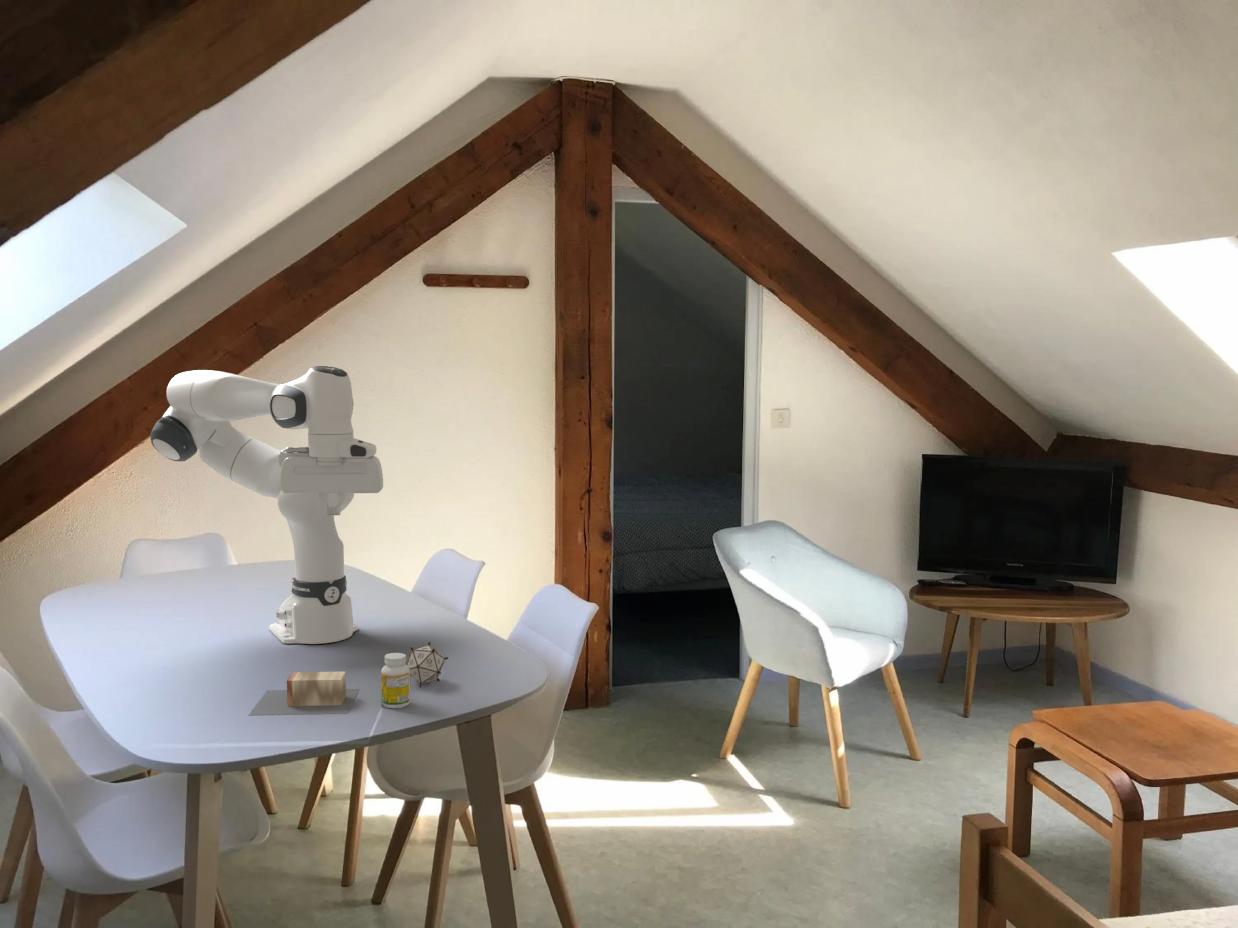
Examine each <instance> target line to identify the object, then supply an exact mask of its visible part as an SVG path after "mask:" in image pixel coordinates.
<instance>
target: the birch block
mask: <svg viewBox="0 0 1238 928" xmlns="http://www.w3.org/2000/svg"><path fill="white" fill-rule="evenodd" d="M346 678H347V677H346V671H302V672H301V671H300V672H299V671H293V672H292V673H291V674H290V676H288V678H287V680H286V690H287V706H329V705H342V703H343V701H344V699H345V697H346V689H347V688H346V687H347V685H346V683H347V681H346V680H347V679H346Z"/></svg>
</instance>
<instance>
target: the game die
mask: <svg viewBox="0 0 1238 928" xmlns="http://www.w3.org/2000/svg"><path fill="white" fill-rule="evenodd" d="M409 650H410V654H409V657H408V660H407V661H406V662H407V663H406V665H407V666H408V667H409V669H410V677H412V678H413V679H414V680H415V681H416V682H418V684H419V688H420V689H421V688H422V687H423V684H425V683H428V682H432V681H435V680H436V681H437V682H441V679H440V678H439V676H440V675H441V674H442V673H441V671H442V668H443V665H444V662H445V660H448V659H449V657H448V656H445V657H444V656H443V655H441V654H440V653H439V652H438V650H436V648H434V647H432V646H431V641H429V642H428V643H427V645H423V646H422V647H417V648H413V647H412V646H409Z"/></svg>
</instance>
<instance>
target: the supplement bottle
mask: <svg viewBox="0 0 1238 928" xmlns="http://www.w3.org/2000/svg"><path fill="white" fill-rule="evenodd" d="M406 662H407V655H406V654H405V653H402V652H391V653H386V654H385V655H384V664H385V665H384V666H383V667H382V668H381V672H380V673H381V674H380V675H381V676H380V679H381V680H380V681H381V683H380V684H381V685H380V687H381V704H382V706H383V707H385V708H387V709H402V708H405V707H407V706H409V705H410V703H411V683H410V679H411V678H410V677H411V675H410V669H409V667H408V666H407V663H406Z"/></svg>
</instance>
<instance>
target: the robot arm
mask: <svg viewBox="0 0 1238 928" xmlns="http://www.w3.org/2000/svg"><path fill="white" fill-rule="evenodd" d="M352 389H353V388H352V382H351V378H350V376H349V374H348V372H347V371H346V370H344V369H341V368H339V367H334V366H328V365H317V366H313V367H311V368H309V369H308V371H307V372H306V373H305V374H304V375H302V376H301V377H299V378H297V379H293V380H291V381H289V382H286V383H283V384H282V383H281V384H280V383H274V382H269V381H265V380H260V379H256V378H251V377H246V376H244V375H239V374H235V373H230V372H225V371H220V370H211V369H210V370H208V369H202V370H201V369H197V370H196V369H195V370H189V371H188V370H187V371H183V372H180V373H178V374H176V375H174V377H172V378H171V380H170V381H169V383H168V385H167V387H166V400H167V402H168V404H169V407H168V408H167V410H166V411H165V412H164V413H163V415H162V417H161V418H160V419H158V420H157V421H156V422H155V424H154V426H153V428H152V429H151V431H150V434H149V435H150V436H149V437H150V442H151V445H152V447H154V448H155V450H156V451H157V452H158V453H159V454H161V455H162V456H163V457H165V458H166V459H168V460H171V461H174V462H185V461H188V460H189V459H191V458H192V457H193V456H195V455H196V454H197V452H198V456H199V458H200V459H201V461H202V462H203V463H205V465H207V466H209V467H210V468H211V469H212V470H214V471H215V472H216V473H219V474H220V475H222V476H224V477H225V478H226V479H229V480H230V481H233V482H234V483H237V484H238V485H240V486H243V487H245V488H247V489H249V490H251V491H254V492H255V493H257V494H259V495H261V496H265V497H270V498H275V499H277V507H278V510H279V512H280V514H281V515H282V516H283V517H284V518H285V519H286V521H287V525H288V527H289V531H290V534H291V537H292V544H293V550H294V552H293V553H294V576H295V577H292V578H291V580H293V581H291V591H290V592H291V594H290V595H289V596H288V597H287V598H286V599H285V600H284V601H283V602H282V603H281V604H280V605H279V610H276V612H275V613H276V616H275V617H276V619H277V620H278V621H276V622H273V623H271V624H269V625H268V630H269V631H270V632H271V633H272V634H273V635H274V636H275V637H276V638H277V639H278V640H279V641H280V642H281V643H283V644H305V645H306V644H307V645H318V644H329V643H334V642H335V643H336V642H340V641H343V640H347V639H349V638H350V637H352V636H353V633H354V632H357V631H358V630H359V625H358V624H355V623H354V617H353V616H354V615H353V608H352V607H353V606H352V597H351V596H349V595H348V594H347V593H346V592H347V584H348V582H347V577H346V575H345V558H344V556H345V551H344V550H345V549H344V548H345V547H344V543H343V540H342V539H341V538H340V537H339V534H338V531H337V526H336V524H335V516H341V513H342V512H343V511H344V510H345V509H346V508H347V507H348V506H349V505H350V504H351V502H352V501H353V499H354V496H355V494H378V493H380V492H381V491H382V490H383V488H384V475H383V474H384V473H383V468H382V464H381V461H380V459H379V458H378V457H377V456H376V453H377V446H376V445H375V444H374V443H371V442H367V441H365V440H362V439H358V438H355V437H354V428H353V426H352V416H353V414H354V413H353V412H354V398H353V390H352ZM266 415H267V416H268V415H271V417H272V419H273V421H274V422H275V423H276V424H277V425H278V426H279V427H281V428H283V429H287V430H301V429H307V430H308V431H307V439H308V440H307V441H308V442H307V444H308V445H307V446H304V447H302V446H299V447H293V446H292V447H291V446H290V447H289V446H288V447H286V448H285V449H283V450H281V449H278V448H276V447H273V446H271V445H269V444H267V443H265V442H263V441H261V440H259V439H257V438H255V437H252V436H251V435H248V434H245V433H243V432H241V431H239V430H237V429H236V428H235V427H234V426H233V425H232V424H231V421H233V422H234V421H239V420H244V419H251V418H257V417H261V416H266Z"/></svg>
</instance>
